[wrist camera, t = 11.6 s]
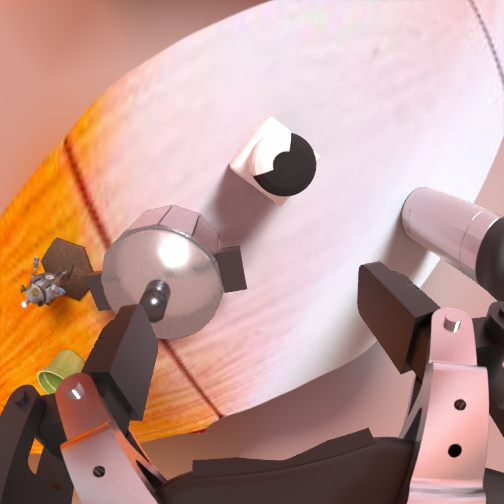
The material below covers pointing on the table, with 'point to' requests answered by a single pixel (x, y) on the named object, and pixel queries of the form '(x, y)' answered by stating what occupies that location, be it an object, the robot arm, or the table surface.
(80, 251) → the robot figurine
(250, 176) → the medicine bottle
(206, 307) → the lid
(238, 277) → the pot
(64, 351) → the plant pot
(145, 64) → the table surface
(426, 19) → the table surface
